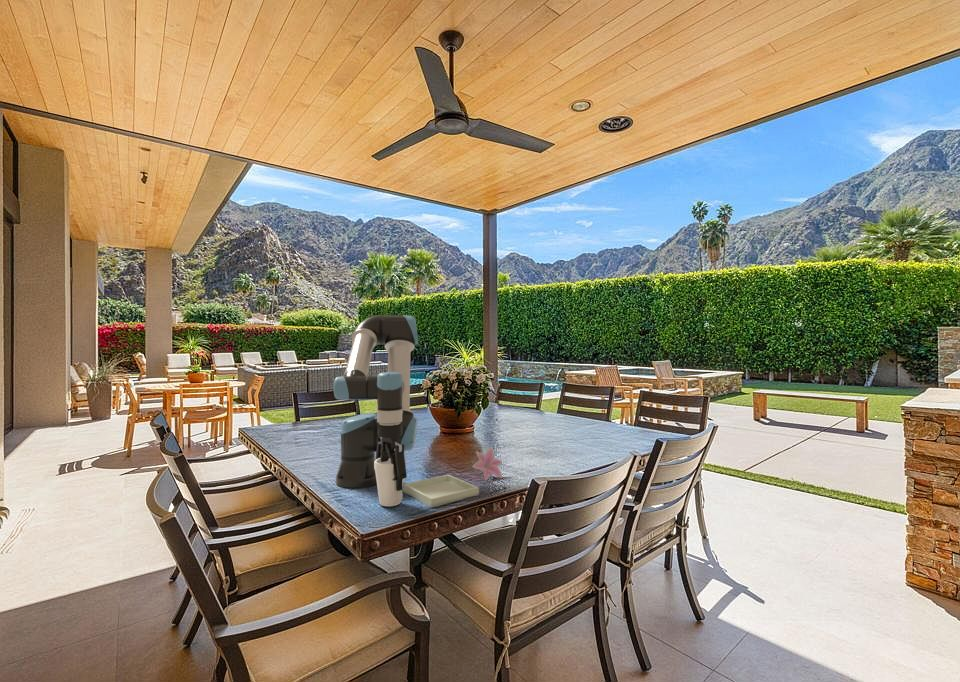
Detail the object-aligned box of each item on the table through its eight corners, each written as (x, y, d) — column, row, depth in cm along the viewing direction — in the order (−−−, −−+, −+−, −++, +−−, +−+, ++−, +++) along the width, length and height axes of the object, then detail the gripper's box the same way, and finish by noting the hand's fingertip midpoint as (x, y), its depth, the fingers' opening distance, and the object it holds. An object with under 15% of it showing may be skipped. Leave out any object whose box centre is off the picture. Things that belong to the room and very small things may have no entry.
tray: (431, 507, 139) (431, 499, 139) (403, 491, 153) (403, 484, 153) (478, 495, 150) (478, 487, 150) (448, 481, 164) (448, 474, 164)
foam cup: (402, 508, 136) (402, 464, 136) (371, 508, 136) (371, 464, 136) (408, 497, 146) (407, 456, 145) (378, 496, 146) (378, 456, 146)
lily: (467, 482, 166) (476, 462, 162) (467, 462, 177) (476, 442, 173) (498, 491, 168) (507, 471, 164) (496, 470, 178) (505, 451, 175)
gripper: (418, 427, 134) (418, 503, 135) (385, 416, 152) (385, 484, 152) (395, 430, 130) (395, 509, 130) (363, 419, 147) (364, 488, 147)
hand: (390, 495), depth 141 cm, fingers closed on foam cup, 9 cm apart
